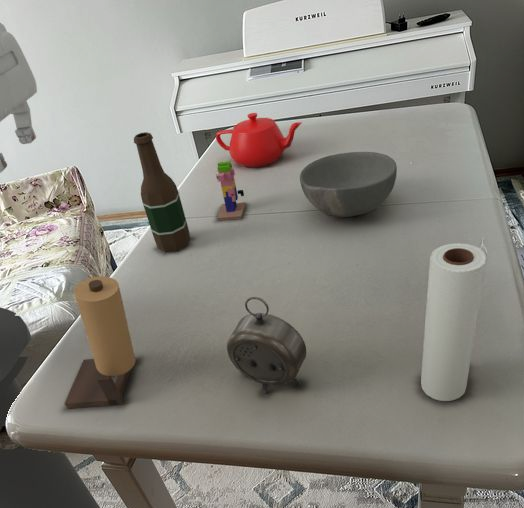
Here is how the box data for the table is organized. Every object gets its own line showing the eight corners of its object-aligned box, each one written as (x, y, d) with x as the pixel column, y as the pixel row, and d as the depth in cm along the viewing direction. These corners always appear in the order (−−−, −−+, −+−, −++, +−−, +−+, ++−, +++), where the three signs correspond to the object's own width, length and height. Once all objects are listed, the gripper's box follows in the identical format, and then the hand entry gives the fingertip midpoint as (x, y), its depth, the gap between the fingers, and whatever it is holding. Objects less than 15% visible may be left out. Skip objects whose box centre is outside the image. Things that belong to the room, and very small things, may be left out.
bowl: (414, 200, 114) (416, 155, 107) (361, 243, 104) (360, 196, 97) (339, 183, 125) (336, 142, 119) (285, 221, 115) (279, 178, 109)
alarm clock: (311, 378, 77) (300, 290, 67) (298, 404, 74) (284, 315, 63) (246, 365, 82) (226, 280, 71) (231, 389, 78) (208, 303, 68)
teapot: (211, 172, 143) (201, 127, 135) (229, 149, 153) (221, 106, 145) (298, 170, 135) (293, 122, 127) (312, 146, 145) (308, 101, 138)
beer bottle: (169, 233, 119) (137, 127, 103) (198, 236, 116) (169, 127, 100) (150, 251, 114) (113, 142, 99) (179, 255, 111) (146, 143, 95)
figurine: (223, 206, 126) (212, 157, 118) (245, 204, 125) (236, 155, 117) (217, 220, 121) (206, 170, 113) (241, 218, 119) (231, 168, 112)
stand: (67, 408, 81) (52, 383, 77) (86, 364, 88) (73, 339, 84) (122, 404, 79) (109, 379, 76) (136, 360, 87) (126, 335, 83)
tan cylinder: (131, 387, 78) (91, 386, 79) (141, 353, 84) (105, 352, 84) (109, 300, 68) (64, 299, 68) (123, 268, 73) (81, 267, 73)
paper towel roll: (429, 406, 70) (441, 274, 56) (414, 375, 75) (423, 246, 61) (481, 396, 70) (507, 262, 56) (464, 366, 75) (484, 235, 61)
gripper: (-27, 16, 64) (23, 130, 73) (-126, 56, 49) (-47, 193, 58) (20, 8, 63) (65, 124, 73) (-65, 46, 48) (5, 186, 57)
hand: (15, 155), depth 65 cm, fingers open, 8 cm apart
